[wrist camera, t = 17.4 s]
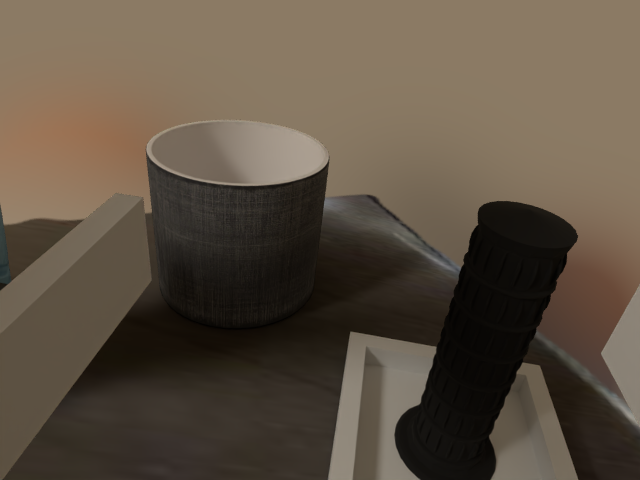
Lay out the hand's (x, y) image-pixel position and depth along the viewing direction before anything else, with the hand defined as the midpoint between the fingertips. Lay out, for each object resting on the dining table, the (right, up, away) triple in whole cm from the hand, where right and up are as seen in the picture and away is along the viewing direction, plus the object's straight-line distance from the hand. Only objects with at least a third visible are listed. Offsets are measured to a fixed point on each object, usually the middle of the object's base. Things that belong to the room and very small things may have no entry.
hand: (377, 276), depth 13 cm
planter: (-13, -5, +56) cm, 58 cm away
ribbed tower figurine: (+11, -20, +35) cm, 41 cm away
